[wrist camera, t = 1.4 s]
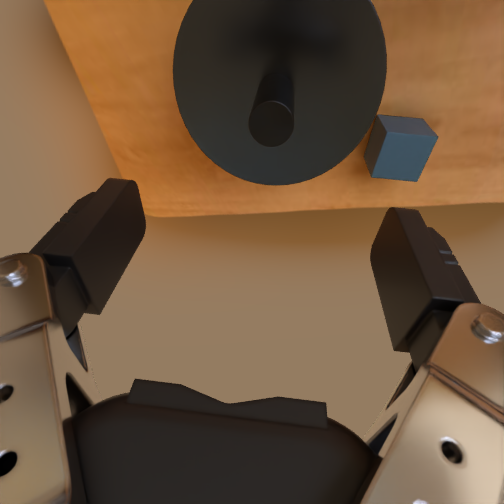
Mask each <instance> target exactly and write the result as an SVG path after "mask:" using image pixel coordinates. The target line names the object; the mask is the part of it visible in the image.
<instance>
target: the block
mask: <svg viewBox="0 0 504 504" xmlns="http://www.w3.org/2000/svg"><path fill="white" fill-rule="evenodd" d="M437 139H438V136H437V135H436V133H435V132H434V131H433V130H432V129H431V128H430V126H429V125H428V124H427V123H426V122H425V121H424V120H423V119H420V118H409V117H398V116H387V115H377V117H376V120H375V123H374V126H373V129H372V132H371V135H370V139H369V142H368V145H367V148H366V151H365V154H364V159H365V162H366V165H367V167H368V170H369V173H370V176H371V177H373V178H383V179H393V180H403V181H414V182H417V181H418V179H419V177H420V175H421V173H422V170H423V168H424V166H425V164H426V162H427V160H428V158H429V156H430V154H431V152H432V149H433V147H434V145H435V143H436V141H437Z"/></svg>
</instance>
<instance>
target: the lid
mask: <svg viewBox="0 0 504 504" xmlns="http://www.w3.org/2000/svg"><path fill="white" fill-rule="evenodd" d="M386 72H387V54H386V45H385V38H384V34H383V30H382V26H381V22H380V20H379V17H378V15H377V12H376V10H375V7H374V5H373V4H372V2H371V0H193V1H192V3H191V4H190V6H189V8H188V10H187V12H186V14H185V16H184V18H183V21H182V23H181V26H180V29H179V33H178V36H177V40H176V45H175V50H174V59H173V82H174V90H175V96H176V101H177V104H178V108H179V111H180V114H181V116H182V119H183V121H184V124H185V126H186V128H187V129H188V131H189V133H190V135H191V137H192V138H193V140H194V141H195V142H196V144H197V145H198V147H199V148H200V149H201V150H202V151H203V152H204V153H205V155H206V156H207V157H208V158H210V159H211V160H212V161H213V162H214V163H215V164H216V165H218V166H219V167H221V168H222V169H224V170H225V171H227V172H229V173H230V174H232V175H234V176H236V177H239V178H241V179H243V180H246V181H250V182H253V183H258V184H264V185H289V184H295V183H300V182H303V181H306V180H310V179H312V178H315V177H317V176H319V175H321V174H323V173H325V172H327V171H328V170H330V169H332V168H333V167H335V166H336V165H337V164H339V163H340V162H341V161H342V160H344V159H345V158H346V157H347V156H348V155H349V154H350V153H351V152H352V151H353V150H354V149H355V147H356V146H357V145H358V144H359V143H360V142H361V140H362V139H363V137H364V136H365V134H366V133H367V131H368V130H369V128H370V126H371V124H372V122H373V120H374V118H375V116H376V113H377V111H378V108H379V106H380V103H381V99H382V95H383V91H384V87H385V80H386Z"/></svg>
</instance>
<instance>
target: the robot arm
mask: <svg viewBox="0 0 504 504" xmlns="http://www.w3.org/2000/svg"><path fill="white" fill-rule="evenodd" d="M145 229H146V220H145V216H144V211H143V207H142V203H141V198H140V194H139V189H138V186H137V184H136V182H135V181H134V180H125V179H115V178H109V179H107V180H106V181H105V182H104V184H103V185H102V186H101V187H100V188H99V189H98V190H97V191H96V192H92V193H90V194H88V195H86V196H84V197H82V198H81V199H79V200H77V202H76V203H75V204H74V205H73V206H72V207H71V208H70V209H69V210H68V213H65V214H64V215H63V216H62V217H61V219H60V222H57V223H56V224H55V225H54V226H53V227H52V228H51V229H50V231H48V232H47V234H46V235H45V236H44V237H43V238H42V239H41V240H40V241H39V242H38V243H37V244H36V245H35V246H34V247H33V248H32V249H31V251H30V252H29V253H17V254H12V255H8V256H5V257H2V258H0V504H504V314H502V313H501V312H499V311H497V310H496V309H494V308H491V307H489V306H486V305H483V304H481V302H480V301H479V299H478V297H477V295H476V294H475V292H474V290H473V288H472V286H471V285H470V283H469V281H468V279H467V277H466V276H465V274H464V272H463V270H462V269H461V267H460V266H459V265H458V261H457V260H456V258H455V256H454V255H452V251H451V249H450V247H449V245H448V244H447V242H446V240H445V239H444V238H443V237H442V236H441V235H440V234H438V233H437V232H436V231H435V230H434V229H433V228H431V227H427V226H426V225H425V222H424V221H423V219H422V217H421V215H420V213H419V211H418V210H415V209H405V208H395V207H391V208H389V209H388V211H387V212H386V215H385V217H384V219H383V222H382V224H381V226H380V229H379V231H378V233H377V235H376V238H375V240H374V242H373V245H372V248H371V255H370V261H371V266H372V270H373V273H374V277H375V281H376V285H377V289H378V292H379V296H380V300H381V304H382V308H383V311H384V315H385V319H386V323H387V327H388V331H389V334H390V338H391V342H392V346H393V350H394V351H400V352H409V353H410V355H411V359H412V361H411V363H410V364H409V365H408V367H407V368H406V370H405V372H404V373H403V375H402V377H401V378H400V380H399V382H398V384H397V385H396V387H395V389H394V391H393V392H392V394H391V396H390V397H389V399H388V401H387V403H386V404H385V406H384V408H383V409H382V411H381V413H380V414H379V416H378V418H377V419H376V420H375V422H374V423H373V425H372V426H371V428H370V429H369V431H368V432H367V433H366V435H365V436H364V438H363V439H361V438H360V437H359V436H358V435H356V434H355V433H354V432H352V431H351V430H350V429H348V428H347V427H345V426H344V425H342V424H340V423H338V422H337V421H335V420H333V419H331V418H328V417H327V408H326V403H325V402H317V401H309V400H301V399H293V398H285V397H273V398H266V399H259V400H253V401H246V402H239V403H231V404H228V403H224V402H221V401H219V400H216V399H214V398H212V397H209V396H207V395H205V394H202V393H200V392H197V391H195V390H193V389H191V388H188V387H186V386H183V385H181V384H172V383H165V382H157V381H149V380H141V379H135V380H134V382H133V385H132V387H131V390H130V392H129V393H124V394H120V395H116V396H113V397H110V398H107V399H105V400H103V399H102V397H101V394H100V392H99V390H98V388H97V385H96V382H95V379H94V376H93V372H92V368H91V364H90V360H89V356H88V352H87V348H86V344H85V340H84V336H83V332H82V327H81V325H80V323H79V320H80V319H81V317H82V315H83V314H84V313H89V314H97V315H100V314H101V312H102V310H103V308H104V307H105V305H106V303H107V301H108V299H109V298H110V296H111V294H112V292H113V290H114V289H115V287H116V285H117V283H118V281H119V280H120V278H121V276H122V275H123V273H124V271H125V269H126V267H127V266H128V264H129V262H130V260H131V258H132V257H133V255H134V253H135V251H136V249H137V248H138V246H139V244H140V242H141V241H142V239H143V237H144V234H145Z"/></svg>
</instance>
